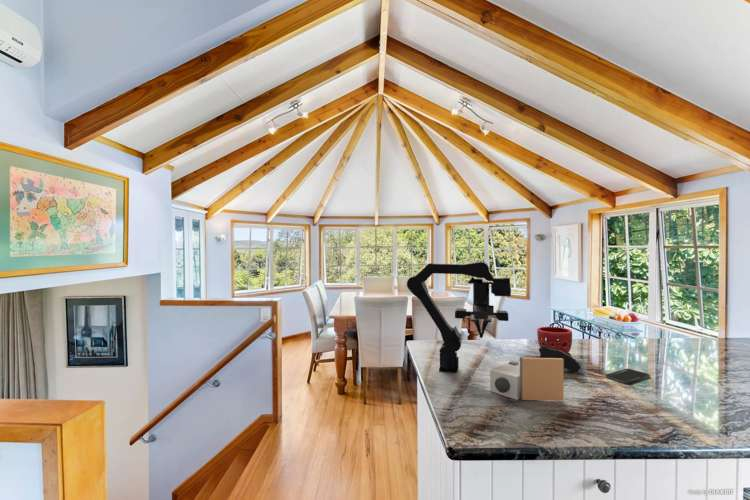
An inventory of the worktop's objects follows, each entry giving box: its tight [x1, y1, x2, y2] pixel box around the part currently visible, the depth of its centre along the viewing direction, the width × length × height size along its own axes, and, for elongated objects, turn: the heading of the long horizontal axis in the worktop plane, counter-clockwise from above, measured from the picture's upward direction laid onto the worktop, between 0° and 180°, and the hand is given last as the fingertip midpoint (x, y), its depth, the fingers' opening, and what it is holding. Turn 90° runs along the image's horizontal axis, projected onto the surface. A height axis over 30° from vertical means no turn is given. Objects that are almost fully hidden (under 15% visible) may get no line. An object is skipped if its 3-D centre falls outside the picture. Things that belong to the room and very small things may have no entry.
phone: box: [605, 368, 651, 385], centre depth 127 cm, size 8×1×15 cm
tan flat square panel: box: [519, 356, 565, 402], centre depth 109 cm, size 2×12×12 cm, turn 86°
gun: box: [538, 345, 584, 374], centre depth 134 cm, size 3×16×10 cm, turn 79°
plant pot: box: [536, 326, 573, 356], centre depth 150 cm, size 13×13×12 cm
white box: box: [489, 360, 520, 400], centre depth 117 cm, size 9×15×8 cm, turn 133°
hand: (481, 337), depth 133 cm, fingers closed
